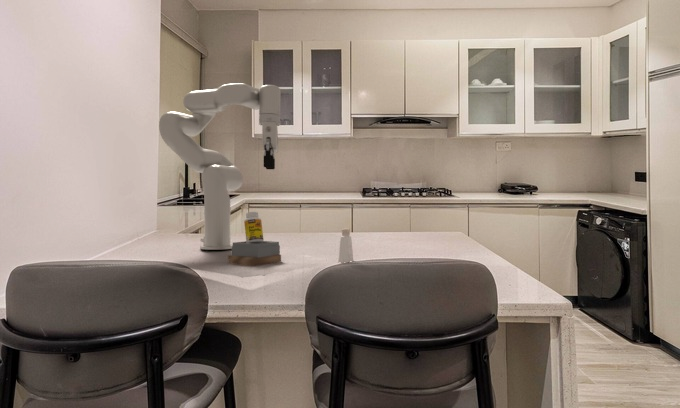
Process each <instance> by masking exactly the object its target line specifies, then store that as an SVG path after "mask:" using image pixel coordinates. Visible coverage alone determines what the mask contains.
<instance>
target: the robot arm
mask: <svg viewBox="0 0 680 408" xmlns="http://www.w3.org/2000/svg"><path fill="white" fill-rule="evenodd" d="M281 96H282V95H281V88H280V87H279V86H277V85H274V84H265V85H262V86H260V88H257V87H254V86H252V85H250V84H246V83H241V82H240V83H239V82H238V83H227V84H222V85H221V86H218V87H217V88H213V89H203V90H202V89H201V90H193V91H190V92H187V93H186V94H185V95H184V96H183V99H182V102H183V106H184V108H185V109H186V110H187V111H188V112H190V113H192V114H191V115H190V114H187V113H184V112H183V113H182V112H178V111H167V112H165V113H163V114H162V115H161V117H160V118H159V121H158V122H159V123H158V130H159V133H160V137H161V139H162V140H163V142H164V143H165V144H166V146H167V147H168V148H170V150H172V151H173V152H174V153H175V154H176V155H177V156H178V157H179V158H180V159H181V160H182V161H183V162H184V163H185V164H186V165H187V166H188V167H189V168H190V169H191V170H192V171H194V172H195V173H197V174H198V173H199V174H201V185H202V189H203V196H204V197H203V198H204V199H203V201H204V203H203V204H204V206H203V207H204V209H203V210H204V214H203V215H204V219H203V220H204V224H203V225H204V228H203V229H204V233H203V234H204V235H203V236H202V238H200V242H201V243H203V244H202V245H200V247H199V249H200V250H207V251H210V250H212V251H214V250H216V251H218V250H220V251H221V250H232V246H233V243H232V244H231V198H230V194H229V192H230V191H231V192H233V191H237V190H238V189H240V188H241V187H242V185H243V183H244V176H243V173H242V171H241V170H240V169H239V167H238V166H236V165H235V164H234V163H233V162H232V161H231V160H230V159H229V158H228V157H226V155H224V154H223V153H222V152H220V151H217V150H213V149H206V148H204V147H202V146H201V145H200V144H199V143H197V142H196V140H194V137H196V136H199V134H201V133H202V132H203V131H204V129H205V128H206V127H207V126H208V125H209V123H210V122H211V121H212V120H213V119H214V117H215V116H216V115H217V113H220V112H224V111H226V109H227V107H228V106H230V105H231V106H233V105H238V106H239V105H240V106H242V107H245V108H250V109H252V110H259V111H258V125H260V126H262V127H261V128H262V130H261V131H262V132H261V135H262V136H261V138H262V139H261V141H262V144H261V145H262V150H263V168H265V169H266V170H275V169H276V167H275V166H276V158H275V153H276V154H277V153H278V152H279V148H278V147H279V146H278V145H279V144H278V143H279V142H278V141H279V137H278V136H279V134H278V133H279V132H278V127H279V126H281ZM192 137H193V138H192Z"/></svg>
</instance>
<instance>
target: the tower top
mask: <svg viewBox="0 0 680 408" xmlns="http://www.w3.org/2000/svg"><path fill="white" fill-rule="evenodd" d="M232 245H233V246H232V249H231V255H232V256H243V257H257V258H259V257H266V256H272V255H281V251H280V250H281V249H280V248H281V247H280V246H281V245H280V242H279V241H272V240H264V241H263V243H260V244H254V243H247V242H246V240H245V241H237V242H236V241H235V242H232Z"/></svg>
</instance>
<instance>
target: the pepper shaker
mask: <svg viewBox="0 0 680 408" xmlns="http://www.w3.org/2000/svg"><path fill="white" fill-rule="evenodd" d="M350 232H351V229H350V228H341V236H340V237H339V246H338V247H339V248H338V258H337V263H339V262H341V263H340V264H345V263H344V262H350V261H354V253H353V243H352V236H351V235H350Z"/></svg>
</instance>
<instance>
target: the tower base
mask: <svg viewBox="0 0 680 408" xmlns="http://www.w3.org/2000/svg"><path fill="white" fill-rule="evenodd" d="M227 256H228V257H227V258H228V262H227V263H228V264H233V265H235V264H236V265H240V266H241V265H242V266H251V267H256V266H263V265H269V264H270V265H271V264H277V263H281V262H282V254H279V255H272V256H266V257H259V258H257V257H243V256H232V254H229V255H227Z"/></svg>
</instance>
